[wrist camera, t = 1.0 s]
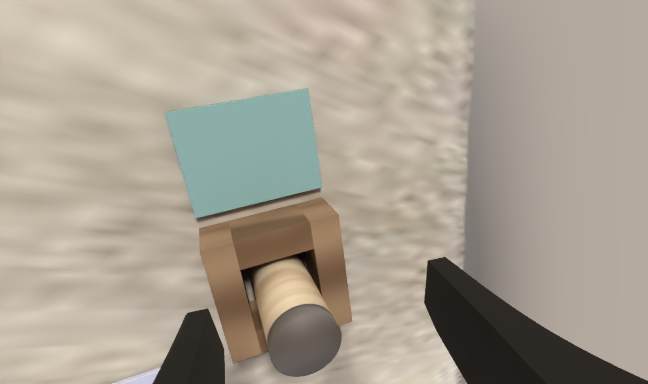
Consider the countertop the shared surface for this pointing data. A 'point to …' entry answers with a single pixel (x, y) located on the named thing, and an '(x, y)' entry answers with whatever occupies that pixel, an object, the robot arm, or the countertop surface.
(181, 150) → the teal mat
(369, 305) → the countertop surface
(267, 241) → the walnut block
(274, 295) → the maple plug
